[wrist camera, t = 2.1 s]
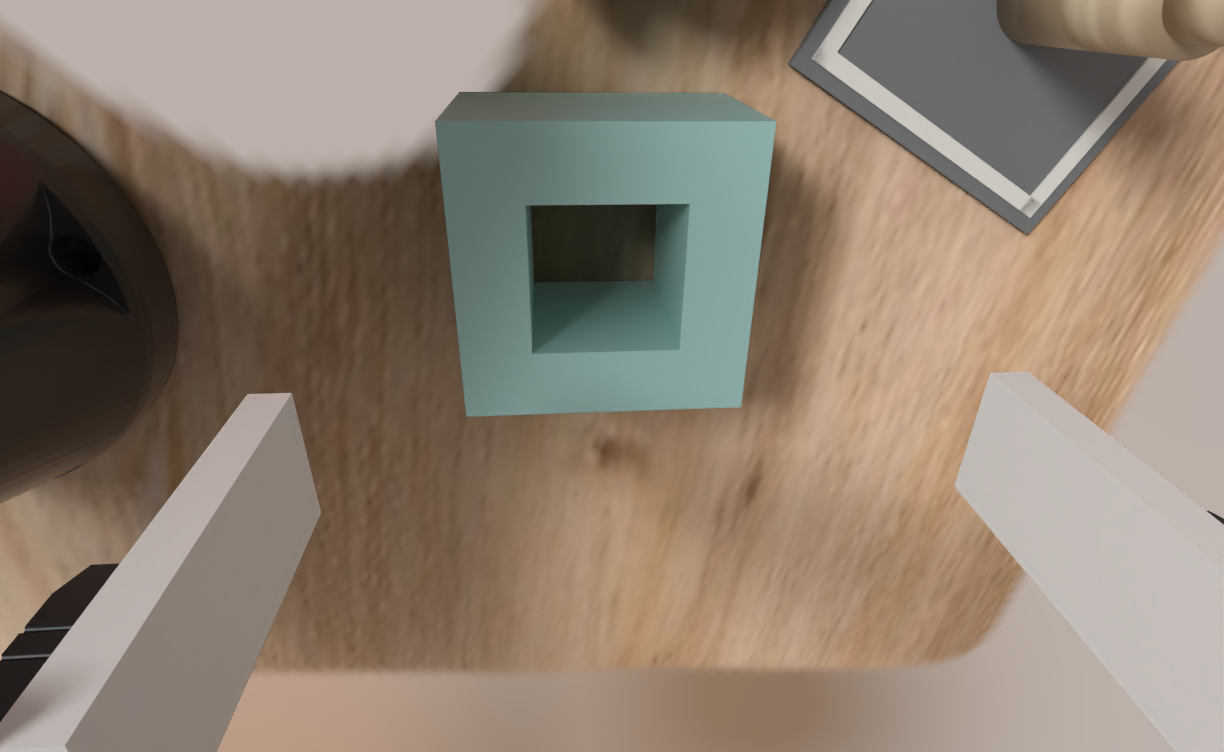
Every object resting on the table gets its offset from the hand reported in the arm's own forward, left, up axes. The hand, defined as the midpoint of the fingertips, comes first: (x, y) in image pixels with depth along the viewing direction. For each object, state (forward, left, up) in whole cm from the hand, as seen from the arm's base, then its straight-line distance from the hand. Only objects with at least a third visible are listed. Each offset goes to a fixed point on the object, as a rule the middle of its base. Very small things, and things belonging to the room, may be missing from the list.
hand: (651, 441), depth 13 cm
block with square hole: (0, 0, -14) cm, 14 cm away
